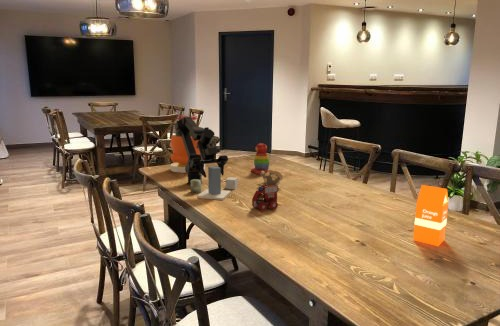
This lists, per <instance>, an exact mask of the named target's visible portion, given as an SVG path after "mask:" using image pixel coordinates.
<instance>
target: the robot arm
mask: <svg viewBox="0 0 500 326" xmlns="http://www.w3.org/2000/svg"><path fill="white" fill-rule="evenodd" d="M181 118H182V117H181ZM174 131H177V134H179V135H180V136H181V137H182V140H183V143H184V146H185V149H186V152H187V155H188V161H187V165H186V167H185V171H186V174H187V182H186V185H191V180H193V179H199V180H201V183H203V181H202V179H203V177H204V178H207V173H206V172H205V171H206V170H204V164H205V165H208V164H216V166H217V165H218V167H220V168H221V176H224V174H225V172H224V170H225V169H224V167H225V166H226V165H227V162H228V160H229V157H228V155H227V154H223V155H219V157H218V158H216V156H217V154H219V153H220V152H221V147H220V145H215V146H214V147H213V146H212V147H211V146H210V144H211V143H212V142H213V140H214V137H215V131H213V130H212V129H210V128H209V127H206V126H205V127H201V126H199V125H198V124H197V122H195V120H194V121H193V120H192V117H191V116H189V117H184V118H182V119H181V120H180V119H178V120H177V121H176V122H175V124H174ZM190 131H191V133H192V138H193V140H194V141H198V140H199V141H198V142H197V148H198V149H199V151H200V154H198V155H197V154H196V151H195V148H194V145H193V142H192V139H191V136H190V133H189V132H190ZM201 157H202V158H201ZM202 176H203V177H202Z"/></svg>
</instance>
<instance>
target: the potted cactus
mask: <svg viewBox="0 0 500 326" xmlns="http://www.w3.org/2000/svg"><path fill="white" fill-rule="evenodd" d="M198 114H199V112H197V113H195V114H193V115H191V116H190V114H184V115H180V114H177V116H178V117H173V119H174V120H181V119H182V118H184V117H192V120H193V121H194V122H195V121H196V120H198V119H199V118H198V116H196V115H198ZM174 132H175V133H174V134H173V135H171V137H170V143H169V147H170V148H171V149H172V152H173V153H172V154H171V155H170V160H171V161H172V162H173V163H171V164H170V171H171V172H174V173H186V171H185V167H186V165H187V161H188V155H187V152H186V149H185V146H184V143H183V140H182V137H181V136H180V135H179V134H177V131H176V130H174ZM189 133H190V136H191V139H192V142H193V145H194V148H195V151H196V154H197V155H198V154H200V151H199V149H198V148H197V142H198V141H199V140H198V141H194V140H193V138H192V133H191V131H190V132H189ZM201 158H202V157H201ZM204 171H206V164H204ZM186 174H187V173H186Z"/></svg>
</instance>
